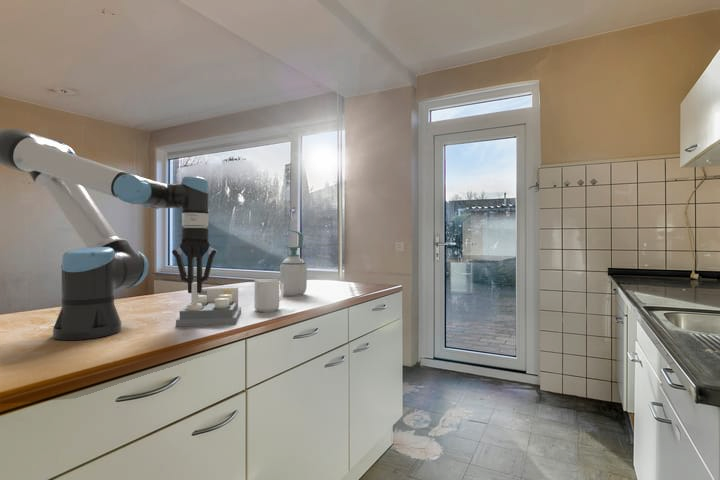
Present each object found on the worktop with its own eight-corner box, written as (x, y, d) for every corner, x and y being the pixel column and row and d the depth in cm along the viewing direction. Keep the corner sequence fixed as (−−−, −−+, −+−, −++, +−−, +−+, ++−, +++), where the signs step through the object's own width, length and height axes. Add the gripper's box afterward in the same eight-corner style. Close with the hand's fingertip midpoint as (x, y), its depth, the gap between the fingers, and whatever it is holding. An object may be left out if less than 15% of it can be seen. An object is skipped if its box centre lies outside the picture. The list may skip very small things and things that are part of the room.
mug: (264, 313, 132) (264, 282, 132) (249, 310, 137) (249, 280, 137) (290, 308, 141) (290, 279, 141) (275, 306, 147) (275, 277, 147)
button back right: (217, 305, 123) (217, 296, 123) (219, 303, 127) (219, 294, 127) (231, 305, 124) (231, 296, 124) (232, 303, 128) (232, 294, 128)
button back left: (191, 306, 121) (191, 297, 121) (194, 304, 125) (194, 295, 125) (205, 305, 122) (205, 296, 122) (207, 303, 126) (207, 294, 126)
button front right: (213, 309, 115) (213, 300, 115) (215, 307, 119) (215, 298, 119) (228, 309, 116) (228, 299, 116) (229, 307, 120) (229, 297, 120)
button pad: (175, 326, 111) (176, 296, 111) (189, 314, 129) (189, 288, 129) (235, 324, 115) (235, 294, 115) (241, 312, 133) (241, 287, 133)
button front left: (185, 315, 113) (185, 305, 113) (188, 313, 117) (188, 303, 117) (200, 315, 114) (200, 305, 114) (203, 312, 118) (203, 303, 118)
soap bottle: (285, 292, 183) (285, 229, 183) (309, 293, 182) (310, 229, 182) (276, 296, 171) (276, 228, 171) (302, 297, 169) (302, 228, 169)
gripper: (169, 226, 111) (168, 306, 111) (215, 227, 113) (215, 304, 113) (175, 227, 118) (175, 302, 118) (219, 228, 121) (219, 301, 121)
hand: (194, 303), depth 116 cm, fingers closed
